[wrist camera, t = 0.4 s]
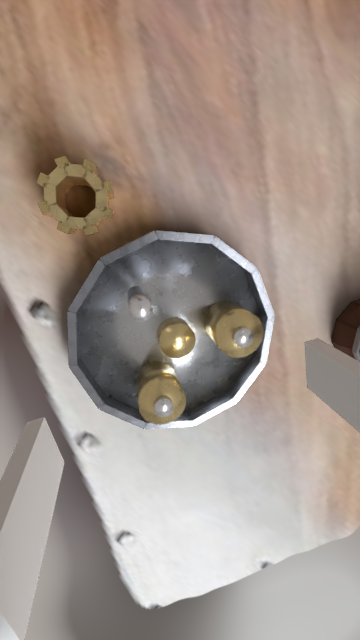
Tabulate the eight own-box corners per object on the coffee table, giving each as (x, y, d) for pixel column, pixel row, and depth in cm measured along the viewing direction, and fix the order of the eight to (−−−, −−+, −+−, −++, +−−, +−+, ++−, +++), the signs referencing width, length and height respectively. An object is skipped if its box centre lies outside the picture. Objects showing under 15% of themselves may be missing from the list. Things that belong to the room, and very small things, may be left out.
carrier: (70, 223, 35) (53, 220, 26) (272, 240, 41) (315, 243, 32) (74, 416, 43) (63, 465, 34) (245, 407, 48) (274, 447, 40)
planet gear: (48, 165, 33) (34, 151, 27) (114, 173, 35) (113, 162, 29) (51, 231, 35) (39, 231, 29) (113, 236, 37) (112, 237, 31)
